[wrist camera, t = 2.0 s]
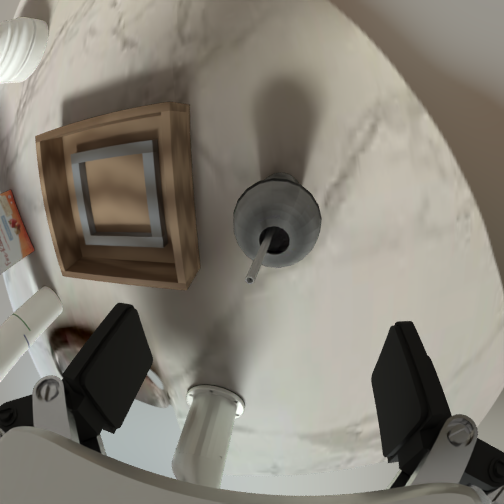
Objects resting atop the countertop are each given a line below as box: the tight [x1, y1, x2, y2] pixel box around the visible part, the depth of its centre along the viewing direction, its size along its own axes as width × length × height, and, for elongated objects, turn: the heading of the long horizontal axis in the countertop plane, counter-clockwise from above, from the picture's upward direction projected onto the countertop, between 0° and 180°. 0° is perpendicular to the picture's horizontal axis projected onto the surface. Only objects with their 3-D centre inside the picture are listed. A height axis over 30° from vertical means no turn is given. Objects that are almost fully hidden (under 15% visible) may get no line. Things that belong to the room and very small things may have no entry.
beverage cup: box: [233, 173, 321, 284], centre depth 24 cm, size 7×7×20 cm
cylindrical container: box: [0, 286, 63, 382], centre depth 37 cm, size 7×7×25 cm
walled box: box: [35, 102, 200, 290], centre depth 33 cm, size 22×22×6 cm
